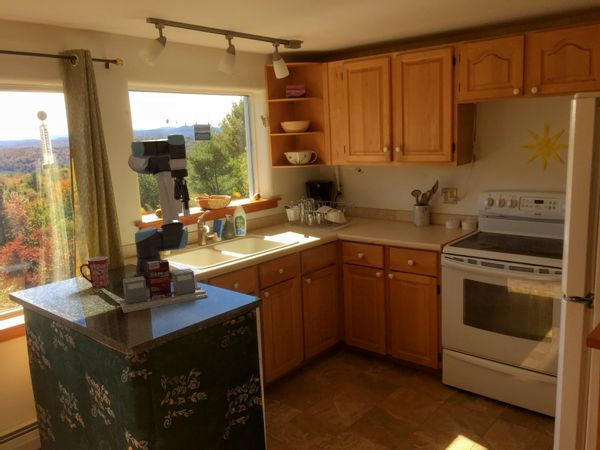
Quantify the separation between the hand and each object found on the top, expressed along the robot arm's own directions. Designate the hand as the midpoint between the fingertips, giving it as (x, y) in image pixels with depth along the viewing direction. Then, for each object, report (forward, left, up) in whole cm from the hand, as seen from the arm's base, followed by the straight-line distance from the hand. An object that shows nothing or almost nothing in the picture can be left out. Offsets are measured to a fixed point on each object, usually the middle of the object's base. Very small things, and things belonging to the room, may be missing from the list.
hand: (183, 215), depth 231 cm
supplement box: (+20, -17, -32) cm, 41 cm away
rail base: (+20, -16, -33) cm, 41 cm away
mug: (-24, -39, -33) cm, 56 cm away
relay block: (+8, -2, -33) cm, 34 cm away
